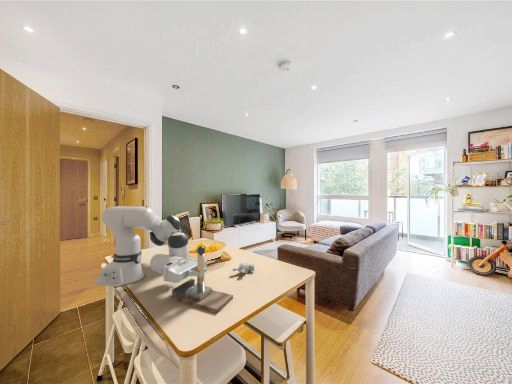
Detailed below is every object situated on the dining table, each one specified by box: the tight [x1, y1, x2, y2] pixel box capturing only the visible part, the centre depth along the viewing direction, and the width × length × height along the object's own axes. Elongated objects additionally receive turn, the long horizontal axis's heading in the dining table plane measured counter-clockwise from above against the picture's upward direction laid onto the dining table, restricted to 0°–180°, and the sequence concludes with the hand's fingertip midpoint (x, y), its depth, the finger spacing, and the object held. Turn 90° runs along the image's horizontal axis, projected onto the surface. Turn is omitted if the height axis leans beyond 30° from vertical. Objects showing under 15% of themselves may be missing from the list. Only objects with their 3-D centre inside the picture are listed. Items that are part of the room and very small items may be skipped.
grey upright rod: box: [185, 245, 213, 300], centre depth 89 cm, size 7×10×21 cm
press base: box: [170, 278, 234, 314], centre depth 89 cm, size 24×12×4 cm, turn 67°
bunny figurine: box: [232, 262, 256, 275], centre depth 119 cm, size 10×5×15 cm
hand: (202, 272), depth 89 cm, fingers closed on grey upright rod, 3 cm apart
